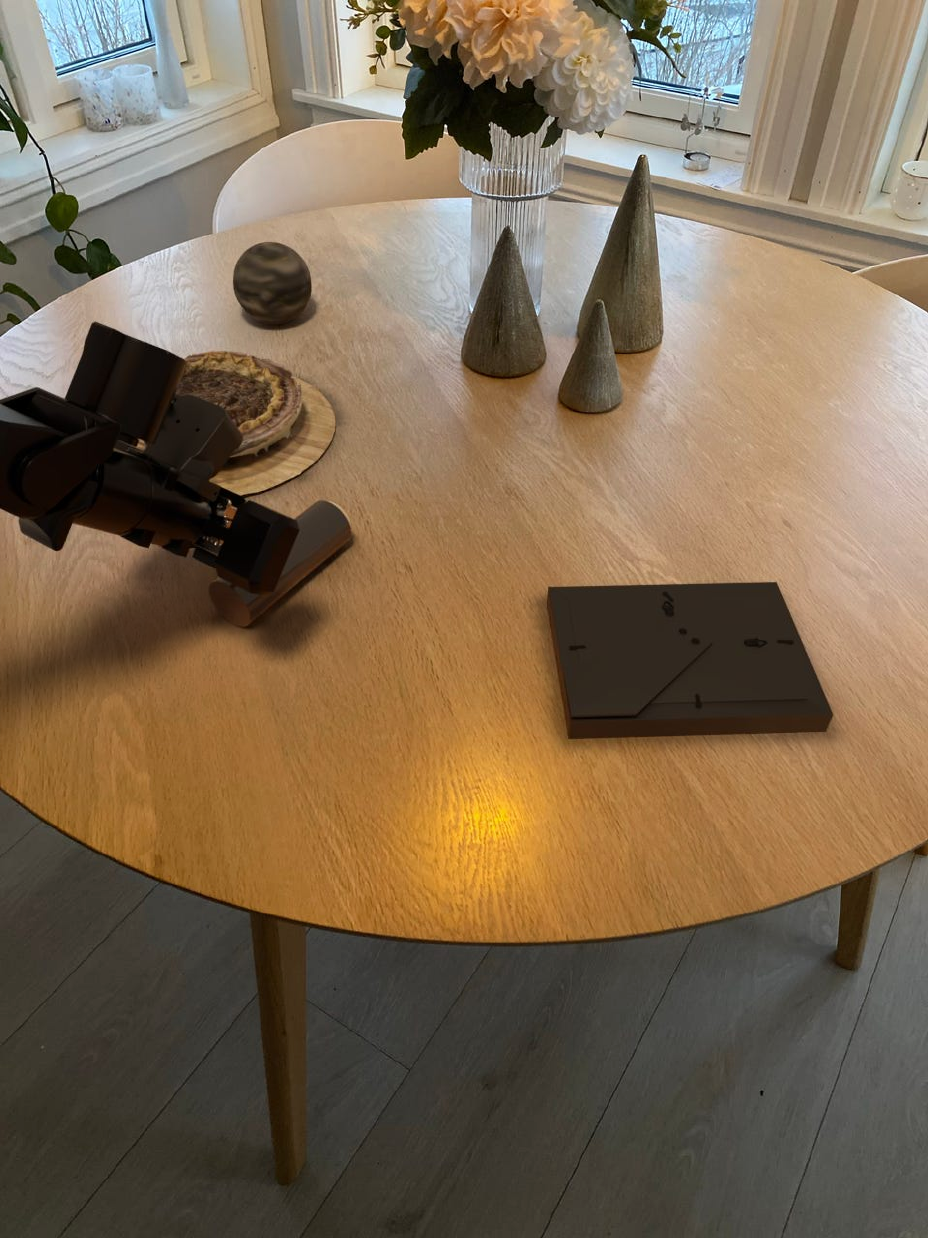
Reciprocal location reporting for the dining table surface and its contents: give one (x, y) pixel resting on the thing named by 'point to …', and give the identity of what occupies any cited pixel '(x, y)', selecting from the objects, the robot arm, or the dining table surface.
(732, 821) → the dining table surface
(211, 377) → the pie
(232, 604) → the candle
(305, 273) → the decorative stone
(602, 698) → the picture frame
